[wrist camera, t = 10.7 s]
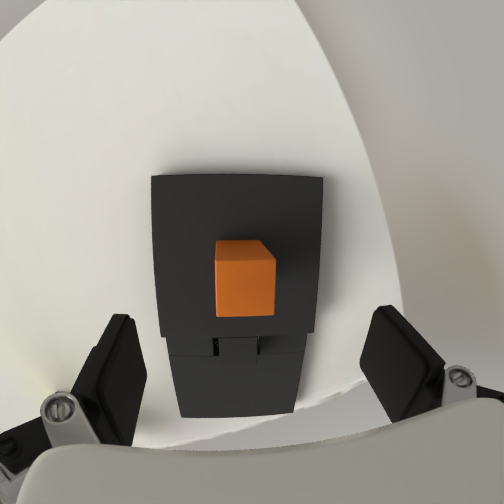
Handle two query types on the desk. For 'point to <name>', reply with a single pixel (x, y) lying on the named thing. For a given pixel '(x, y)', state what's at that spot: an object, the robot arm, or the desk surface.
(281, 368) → the notched pad
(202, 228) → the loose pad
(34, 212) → the desk surface
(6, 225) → the desk surface
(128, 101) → the desk surface
